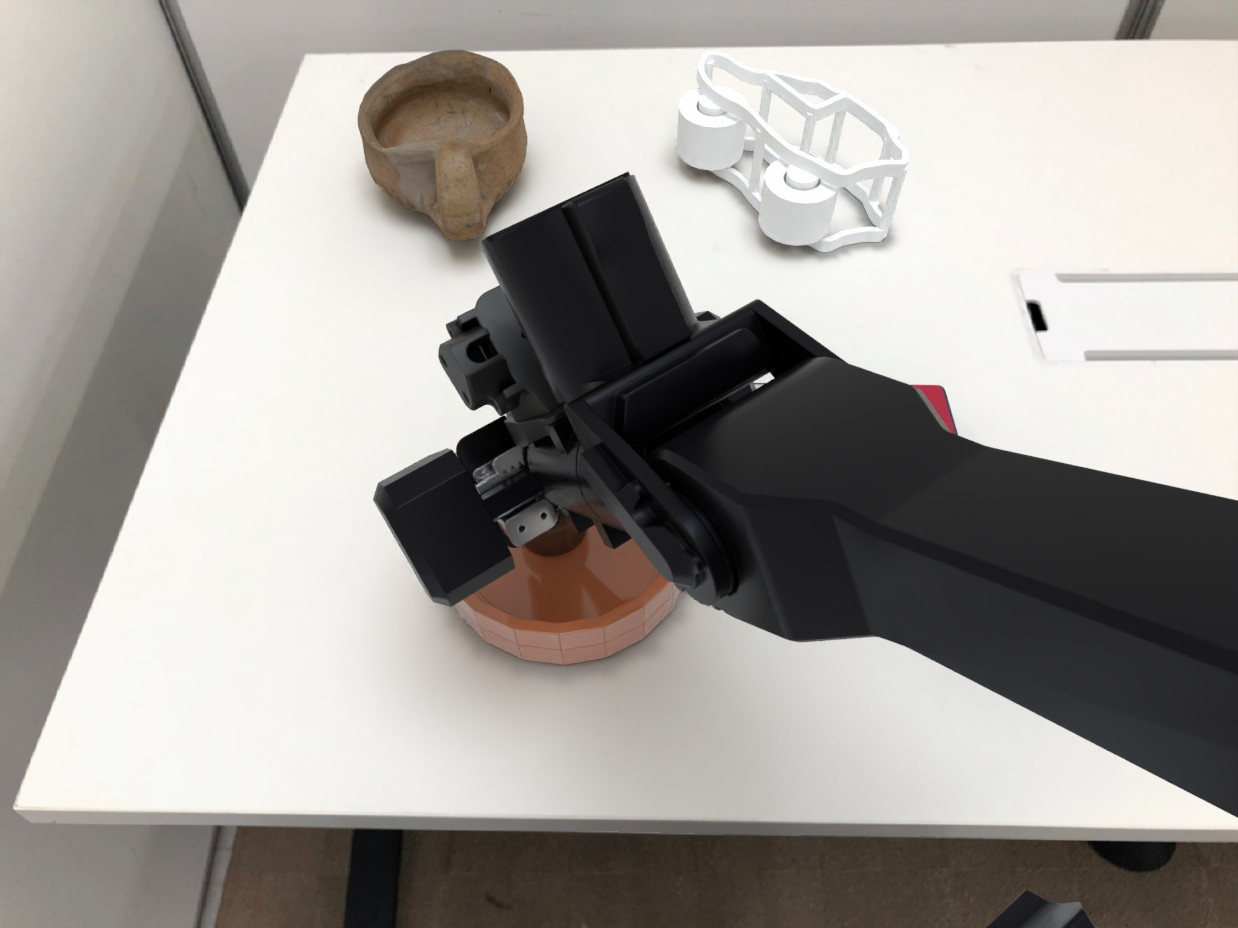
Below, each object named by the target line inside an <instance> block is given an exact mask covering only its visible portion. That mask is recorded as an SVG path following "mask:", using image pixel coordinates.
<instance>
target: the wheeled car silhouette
mask: <svg viewBox="0 0 1238 928" xmlns="http://www.w3.org/2000/svg"><path fill="white" fill-rule="evenodd" d="M714 68H716V69H720V70H723V71H725V72H726V73H728V74H730V76H732V77H734V78H736V79H737V80H739V81H741V82H744V83H745V84H749V85H751V86H757V87H758V86H759V87H760V86H761V87H762V89H761V94H760V95H761V96H760V102H759V103H760V104H759V111H758V112H757V111H756V110H755V109H754V108H753V107H751V106H750V105H749V104H748V103H749V102H748V100H747V99H746V98H745V97H744V96H743V94H742V93H740V92H738V91H736V90H735V89H733V88H729V87H726V86H722V85H721V86H719V85H715V84H714V83H713V74H714ZM696 71H697V72H696V82H697V86H698V87H696V88H692V89H691V90H689V91H687V92H686V93H684V94H683V96H682V97H680V99H679V103H678V113H677V114H678V115H677V116H678V117H677V133H676V134H677V136H676V137H677V138H676V151H677V156H679V158H680V159H681V161H683V162H684V163H685V164H687V165H688V166H690V167H693V168H696V169H699V170H704V171H708V172H711V173H712V174H713V175H715V176H717V177H718V178H720V179H722V180H724V181H726V182H728V183H730V184H731V185H732V186H734V188H736V189H737V190H738V191H739V192H740V193H741V194H742V195H743V197H744V198H745V200H746V201H747V202H748V203H749V204H750V205H751V206H752V207H753V208H754V209H755V210H756V212H757V213H758V218H757V221H758V225H759V228H760V230H761V231H762V233H764V235H765V236H766V237H768V238H770V239H772V240H773V241H774V242H776V243H777V242H778V243H781V244H784V245H787V246H793V247H794V246H795V247H797V246H808V247H811V248H812V249H814V250H816V251H818V252H819V253H830V252H833V251H835V250H837V249H839V248H841V247H845V246H848V245H854V244H855V245H856V244H860V243H880V242H882V241H883V240H884V239H885V238H887V237H888V233H889V230H890V226H891V223H892V220H893V217H894V214H895V211H896V208H897V204H898V201H899V198H900V195H901V191H902V187H903V185H904V181H905V179H906V176H907V172H908V169H909V167H908V164H909V160H910V152H909V149H908V148H907V147H906V146H905V145H903V144H902V143H901V141H900V137H901V134H900V131H899V129H898V128H896V127H895V126H894V125H893V124H892V123H890V122H889V121H888V120H887V119H886V118H885V117H884V116H882V115H880V114H879V113H878V112H876V110H874V109H872V108H871V107H870V106H868V105H867V104H865V103H864V102H863V101H861V99H859V98H857V97H855V96H853V95H851V94H849V93H848V92H847V91H846V90H842V89H839V88H835V87H834V86H833V85H831V84H830V83H828V82H826V80H824V79H819V78H811V77H804V76H801V75H796V74H792V73H790V72H787V71H781V70H776V69H765V68H760V69H758V68H754V67H751V66H748V65H746V64H744V63H742V62H741V61H739V60H738V59H736V58H735V57H733V56H731V55H730V54H728V53H725V52H722V51H716V50H708V51H705V52H703V54H701V56H700V59H699V61H698V63H697V70H696ZM772 94H774V95H775V96H777V98H779V99H780V100H781V101H783V102H784V103H785V104H787V105H788V106H790V107H791V108H792V109H793V110H794V111H796V112H797V113H799V115H801V116H802V117H803V118H805V120H804V126H803V131H802V137H801V142H800V145H794V144H790V143H789V142H788V141H786V140H785V139H784V138H783V137H782V136H781V135H780V134H779V133H777V132H776V131H775V130H774V129H773V128H772V127H771V126H770V125H769V124H768V121H769V115H770V108H771V102H772V101H771V100H772ZM804 95H807V96H817V97H818V98H819V99H822V102H820V103H815V104H814V103H813V102H812V101H810V100H809V99H807V98H806V97H805V96H804ZM846 113H848V114H850V115H852V116H853V117H855V118H856V119H857V120H859V121H860V122H861V123H862V124H864V125H865V126H866V127H867V128H868V129H870V130H871V131H872V132H874V133H875V134H877V135H878V137H880V138H881V140H882V143H883V144H882V147H881V151H880V155H879V159H878V160H873V161H869V162H863V163H859V164H856V165H854V166H852V167H850V168H849V167H848V168H847V169H845V168H844V167H843V166H842V165H840V164H838V163H836V157H837V153H838V150H839V145H840V141H841V136H842V131H843V126H844V123H845V118H846ZM832 115H833V116H834V117H833V122H832V126H831V130H830V136H829V140H828V144H827V150H826V154H825V156H822V155H820V154H819V153H817V152H816V151H815V150H813V149H812V148H811V147H812V141H813V137H814V133H815V128H816V127H815V126H816V122H818V121H821V120H823V119H826V118H828V117H830V116H832ZM747 125H748V126H749V127H750V128H751V130H752V131H753V132H754V133H755V136H747V135H746V132H747ZM744 152H752V153H753V154H752V162H751V169H750V177H749V180H748V178H746V177H745V176H744V175H743V174H742V173H741V172H739V171H738V170H737V169H735V168H734V167H732V166H733V165H735V164H737V163H738V162H739V161H740V159H741V158H742V157H743V154H744ZM891 158H892V159H891ZM764 161H765V162H766V163H767V164H768V167H767V168H766V169H765V173H764V178H763V185H762V192H761V193H759V191H760V190H759V189H760V183H761V175H762V168H763V162H764ZM886 178H892V181H891V184H890V186H889V191H888V193H887V197H886V201H885V204H884V207H883V211H882V210H881V209H880V207H879V206H880V195H881V192H882V189H883V186H884V182H885V179H886ZM872 179H873V181H872V184H871V187H870V189H869V188H868V187H867V186H866V185H865V184H864V183H862V181H867V180H872ZM840 188H844V189H846V191H848V192H849V193H850V194H852V195H853V196H854V197H855V198H857V200H859V201H860V202H861V204H862V205H863V207H864V210H865V212H866V214H867V217H868V219H869V220H870V222H871V223H872V224H873V226H860V227H854V228H850V229H845V230H840V231H838V232H836V233H834V234H832V235H829V236H827V234H828V232H829V231H830V229H831V224H832V221H833V216H834V212H835V208H836V203H837V198H838V195H839V190H840Z"/></svg>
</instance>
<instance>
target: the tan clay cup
mask: <svg viewBox="0 0 1238 928" xmlns="http://www.w3.org/2000/svg"><path fill="white" fill-rule="evenodd" d="M524 105H525V103H524V96H523V93H522V91H521V88H520V87H519V84H518V81H517V79H516V77H514V75H513V74H512V72H511V71H510V70H509V68H508V67H506V66H505V65H504V64H503V63H501V62H499V61H498V60H496V59H494V58H491V57H488V56H485V55H482V54H480V53H476V52H474V51H473V52H472V51H469V50H465V49H445V50H439V51H434V52H430V53H428V54H426V55H422V56H420V57H418V58H415V59H414V60H410V61H407V62H406V63H400V64H397V65H395V66H393V67H391V68H390V69H389V70H386V72H385V73H384V74H383V75H381V77H379V78H378V79H377V80H376V81H374V82H373V83H372V85H370V87H369V88H368V89H367V91H366V92H365V93H364V95H363V98H362V100H361V103H360V104H359V107H358V112H357V128H358V132H359V135H360V138H361V142H362V148H363V155H364V160H365V164H366V167H367V170H368V171H369V175H370V176H371V179H372V181H373V182H374V183H375V184H376V185H377V186H378V187H379V188H380V189H381V190H382V191H383V192H384V193H385V194H386V195H387V196H389V197H390V198H391V199H393V200H395V202H397V203H398V204H400V205H402V206H404V207H406V208H407V209H409V210H410V211H412V212H419V213H423V214H425V215H426V216H429V218H430V219H431V220H432V221H433V222H434V223H435V224H436V225H437V227H438V228H439V230H441V232H442V233H443V235H444V237H445V238H447V239H448V240H451V241H452V240H454V241H466V240H471V239H475V238H477V237H480V236H481V235H482V234H483V233H484V232H485V231H486V226H487V221H488V217H489V215H490V213H491V212H492V209H493V208H494V205H495V204H497V203H498V202H499V200H500V199H501V198H503V195H504V194H505V193H506V192H508V191H509V190H510V189H511V187H512V186H513V184H514V183H515V182H516V180H517V179H518V176H519V175H520V174H521V173H522V170H523V168H524V163H525V161H526V157H527V149H528V133H527V128H526V124H525V118H524V114H525V106H524Z"/></svg>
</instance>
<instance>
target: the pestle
mask: <svg viewBox="0 0 1238 928" xmlns="http://www.w3.org/2000/svg"><path fill="white" fill-rule="evenodd" d="M505 416H506V417H507V419H509V418H511V417H512V415H511V413H510V412H507V413H506V414H505ZM558 520H559V524H557V525H556V526H554V527H552V528H551V529H549V530H547V531H546V532H544V533H542V534H541V535H539V536H537V537H536V538H534V539H532V540H531V541H529V542H527V543H526V544H524V546H525V547H527V548H528V549H529V550H530V551H532V552H534V553H536V554H539V555H543V556H558V555H562V554H565V553H567V552H569V551H571V550H573V549H574V548H575V547H576V546H578V545H579V543H580V542H581V541H582V540H583V538H584V536H585V534H586V530H585V531H584V532H582V533H580V534H578V533H575V532H573V531H571V529H570V527H569V525H568V523H567V521H566V519H565V517H564V515H563V513H562V511H561V509H560V507H559V509H558Z"/></svg>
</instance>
